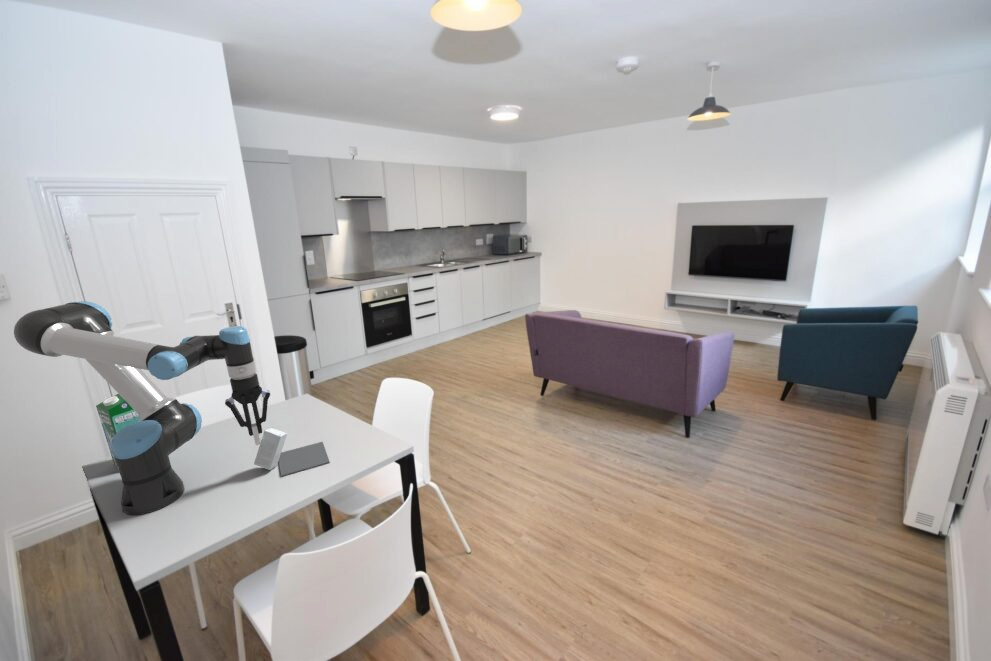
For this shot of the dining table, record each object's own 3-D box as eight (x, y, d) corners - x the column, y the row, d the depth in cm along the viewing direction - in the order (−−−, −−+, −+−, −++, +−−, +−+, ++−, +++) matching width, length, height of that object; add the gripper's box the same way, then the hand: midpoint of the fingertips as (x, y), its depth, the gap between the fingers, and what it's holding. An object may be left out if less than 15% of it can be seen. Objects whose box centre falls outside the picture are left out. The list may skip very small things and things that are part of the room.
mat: (281, 477, 140) (281, 475, 140) (278, 454, 154) (277, 453, 154) (329, 463, 147) (329, 461, 147) (322, 442, 161) (322, 441, 161)
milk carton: (113, 464, 152) (93, 399, 145) (143, 452, 159) (125, 389, 153) (126, 470, 148) (106, 403, 141) (156, 457, 155) (138, 393, 149)
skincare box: (277, 466, 147) (288, 433, 146) (269, 470, 142) (280, 436, 142) (260, 460, 147) (271, 427, 146) (252, 464, 143) (264, 430, 142)
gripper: (218, 384, 129) (235, 454, 136) (266, 374, 135) (280, 442, 142) (219, 376, 136) (235, 443, 142) (266, 367, 142) (279, 432, 148)
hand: (258, 442), depth 142 cm, fingers closed
